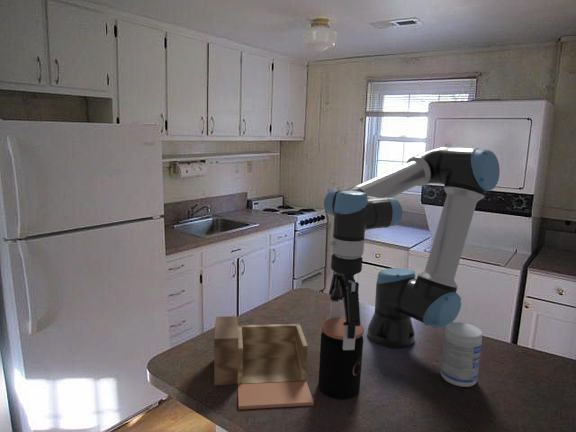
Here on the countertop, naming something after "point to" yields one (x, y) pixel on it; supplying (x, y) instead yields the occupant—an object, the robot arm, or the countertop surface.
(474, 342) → the supplement tub
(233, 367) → the box
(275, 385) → the panel
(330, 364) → the coffee jar
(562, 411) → the countertop surface
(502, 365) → the countertop surface
